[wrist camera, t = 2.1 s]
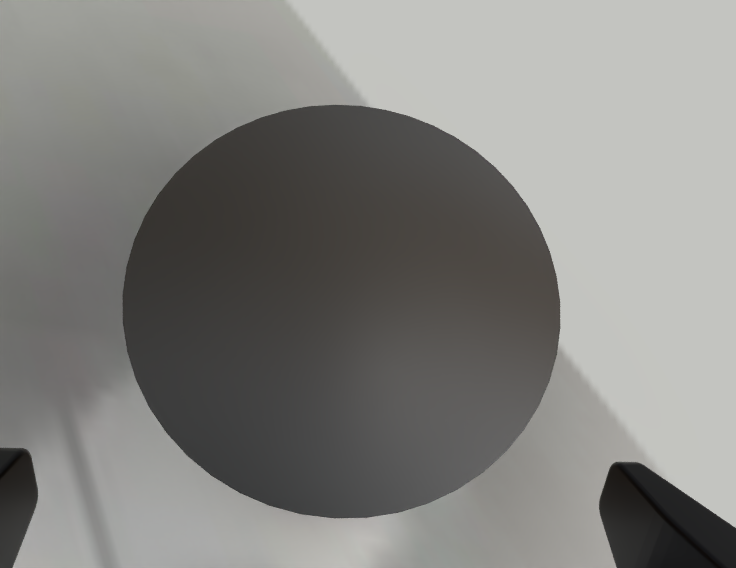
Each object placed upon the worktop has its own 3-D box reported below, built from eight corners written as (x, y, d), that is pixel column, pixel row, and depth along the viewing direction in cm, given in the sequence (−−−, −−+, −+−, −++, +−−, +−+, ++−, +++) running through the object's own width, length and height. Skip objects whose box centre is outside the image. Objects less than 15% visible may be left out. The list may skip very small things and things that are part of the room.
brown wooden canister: (407, 505, 18) (602, 496, 6) (242, 519, 18) (106, 541, 6) (390, 329, 20) (513, 67, 8) (240, 337, 19) (138, 67, 8)
